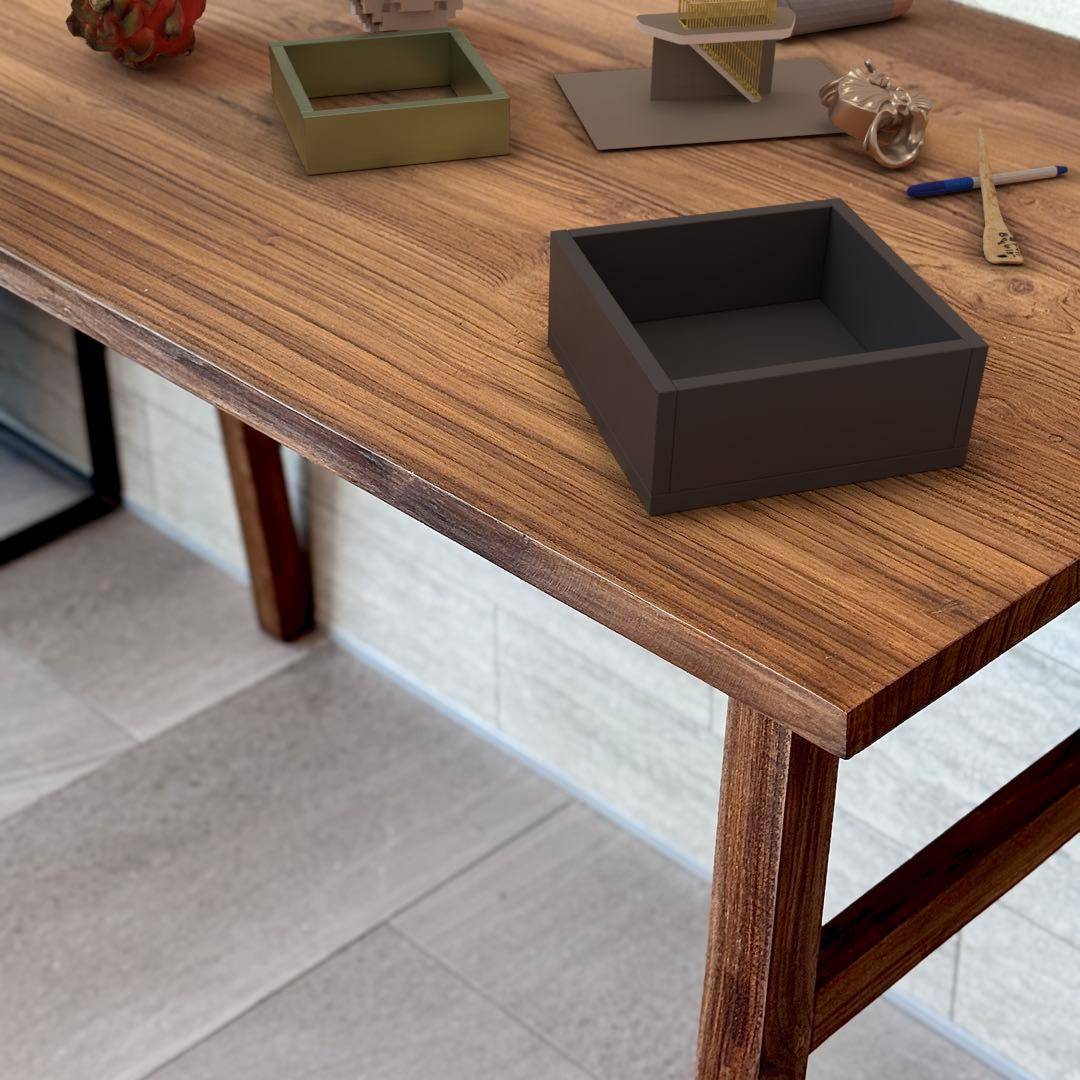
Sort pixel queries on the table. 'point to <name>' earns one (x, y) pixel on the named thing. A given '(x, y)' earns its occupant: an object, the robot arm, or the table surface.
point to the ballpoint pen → (974, 182)
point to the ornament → (878, 113)
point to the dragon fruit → (136, 28)
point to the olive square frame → (389, 128)
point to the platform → (705, 81)
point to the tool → (994, 216)
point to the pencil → (841, 13)
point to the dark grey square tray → (759, 353)
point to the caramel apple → (404, 14)
